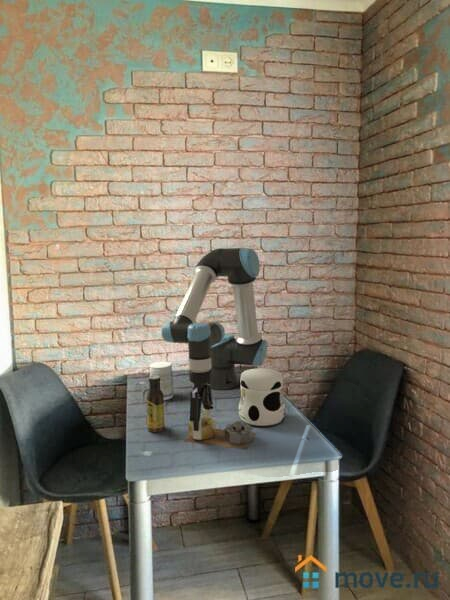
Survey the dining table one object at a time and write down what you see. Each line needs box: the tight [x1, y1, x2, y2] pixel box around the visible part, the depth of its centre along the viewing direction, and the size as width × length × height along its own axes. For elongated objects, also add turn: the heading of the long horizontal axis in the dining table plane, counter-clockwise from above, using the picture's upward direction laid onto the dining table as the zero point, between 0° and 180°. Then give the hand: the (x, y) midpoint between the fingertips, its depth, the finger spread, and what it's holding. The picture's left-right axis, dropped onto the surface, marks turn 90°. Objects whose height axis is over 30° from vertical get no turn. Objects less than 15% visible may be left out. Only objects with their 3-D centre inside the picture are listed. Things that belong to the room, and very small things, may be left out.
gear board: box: [183, 416, 257, 450], centre depth 154 cm, size 12×22×7 cm, turn 72°
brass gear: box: [187, 416, 217, 440], centre depth 156 cm, size 9×9×4 cm
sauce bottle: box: [145, 375, 166, 433], centre depth 163 cm, size 6×6×20 cm
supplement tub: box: [149, 361, 174, 401], centre depth 195 cm, size 10×10×15 cm
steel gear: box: [224, 422, 254, 446], centre depth 152 cm, size 9×9×4 cm
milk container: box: [238, 367, 286, 428], centre depth 168 cm, size 17×17×18 cm
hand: (202, 432), depth 157 cm, fingers closed on brass gear, 9 cm apart
